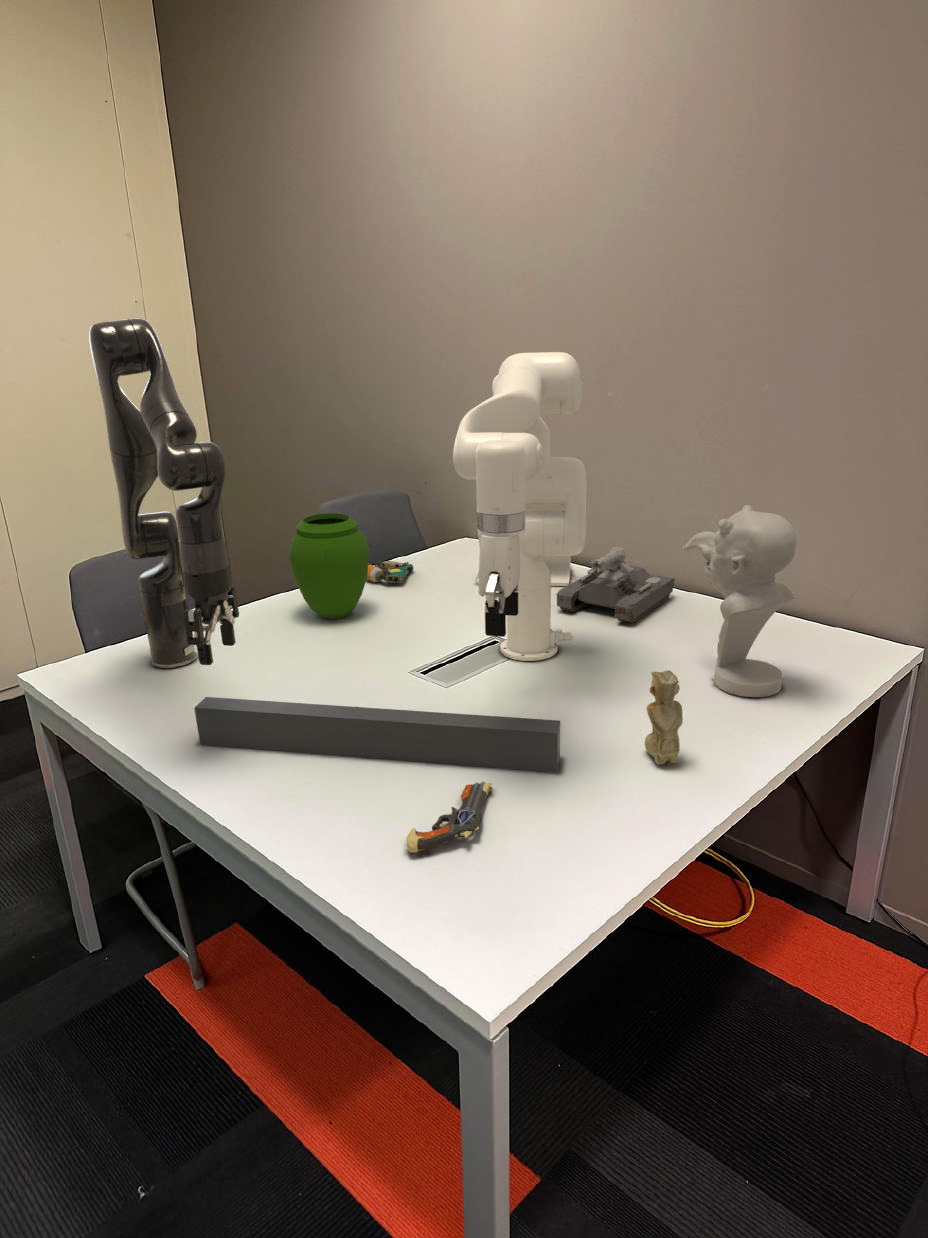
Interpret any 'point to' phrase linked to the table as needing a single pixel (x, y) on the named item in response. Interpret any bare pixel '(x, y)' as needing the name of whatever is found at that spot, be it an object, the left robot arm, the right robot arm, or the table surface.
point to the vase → (329, 563)
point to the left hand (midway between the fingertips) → (218, 654)
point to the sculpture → (664, 718)
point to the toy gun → (454, 820)
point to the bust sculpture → (747, 593)
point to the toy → (616, 588)
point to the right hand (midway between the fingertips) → (502, 624)
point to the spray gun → (389, 571)
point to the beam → (381, 733)
